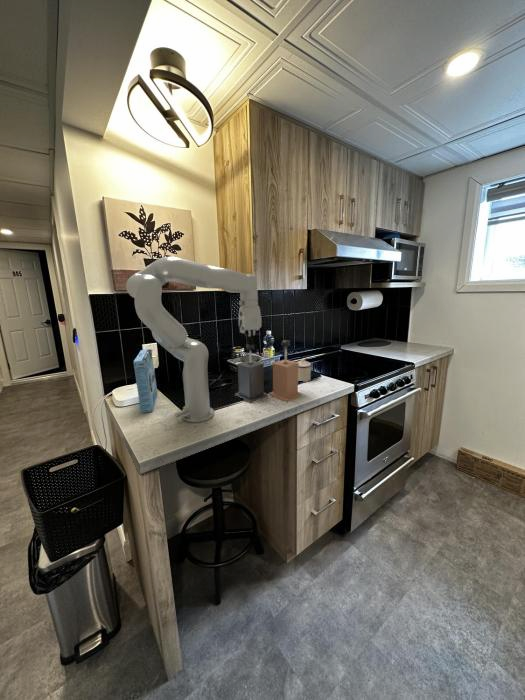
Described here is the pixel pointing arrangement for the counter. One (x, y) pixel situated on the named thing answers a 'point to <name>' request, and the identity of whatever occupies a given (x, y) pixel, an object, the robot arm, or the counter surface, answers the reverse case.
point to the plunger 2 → (285, 343)
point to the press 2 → (285, 381)
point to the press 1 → (251, 381)
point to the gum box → (145, 380)
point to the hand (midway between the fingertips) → (250, 344)
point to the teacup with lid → (304, 371)
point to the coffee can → (255, 358)
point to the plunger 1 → (250, 352)
